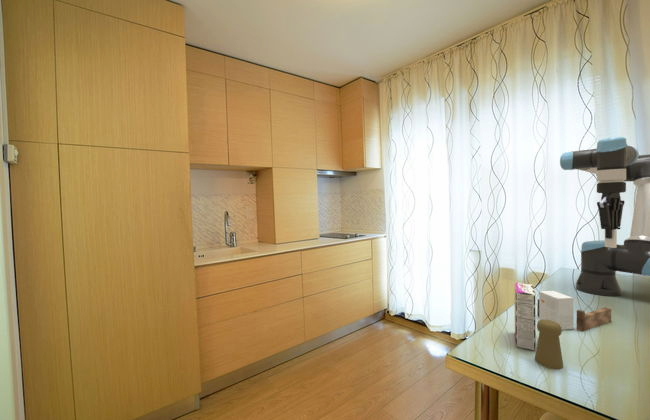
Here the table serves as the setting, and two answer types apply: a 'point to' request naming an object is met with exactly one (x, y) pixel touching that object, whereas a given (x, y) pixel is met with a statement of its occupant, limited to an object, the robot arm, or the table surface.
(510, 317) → the table surface
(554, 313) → the small box
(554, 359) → the cork
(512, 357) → the table surface
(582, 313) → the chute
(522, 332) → the candy bar box
